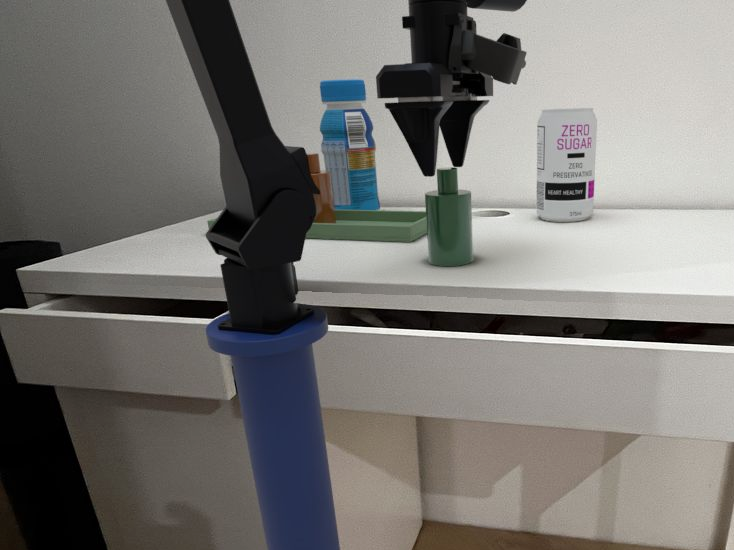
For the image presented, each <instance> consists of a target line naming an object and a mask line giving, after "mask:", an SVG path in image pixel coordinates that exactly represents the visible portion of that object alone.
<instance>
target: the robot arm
mask: <svg viewBox="0 0 734 550" xmlns="http://www.w3.org/2000/svg"><path fill="white" fill-rule="evenodd" d="M407 1H408V15H405V16H401V23H402V29H405V30H408V31H409V37H410V54H411V62H409V63H407V62H405V63H400V64H399V63H398V64H397V63H396V64H384V65H383V66H382V68H381V69H380V70H379V71H378V73H377V74H376V76H375V82H376V96H377V97H376V98H377V99H397V102H384V107H385V109H387V110H388V111H389V112H390V115H391V116H392V118H393V119H394V121H395V123H396V125H397V127H398V128H399V130H400V132H401V134H402V136H403V138H404V139H405V142H406V143H407V145H408V147H409V150H410V152H411V154H412V155H413V157H414V160H415V161H416V163H417V165H418V168H419V170H420V172H421V173H422V175H423V176H424V177H426V178H427V177H434V176H436V171H437V161H438V149H439V136H440V132H441V135H442V138H443V141H444V144H445V149H446V150H447V154H448V156H449V157H448V158H449V160H450V162H451V164H452V167H453V168H462V167H464V164H465V159H466V154H467V150H468V145H469V141H470V137H471V133H472V128H473V124H474V120H475V118H476V116H477V114H479V113H480V111H481V110H482V109H483V108H484V107H486V106H487V105H488V104H489V102H490V99H478V97H479V98H480V97H494V81H497V82H500V83H503V84H505V85H511V84H513V85H514V86H515V85H517V83H518V81H519V78H520V75H521V72H522V69H523V70H524V68H525V67H526V66H527V62H526V56H527V51H526V50H523V49H522V43H521V38H520V37H517V36H514V35H511V34H508V33H505V32H503V33H502V34H501V35H500V36H499V37H498V38H497V39H496V40H494V39H492V38H489V37H486V36H484V35H481V34H478V33H477V22H476V20H475V19H474V17H472V16H469V15H468V8H469V9H475V10H485V11H499V12H511V13H514V12H517V11H519V10H520V9H521V8H523V6H524V5H526V3H527V1H528V0H407ZM165 2H166V5H167V7H168V10H169V13H170V15H171V18H172V21H173V24H174V26H175V29H176V32H177V34H178V37H179V40H180V42H181V44H182V47H183V50H184V52H185V55H186V57H187V60H188V63H189V65H190V67H191V70H192V73H193V77H194V78H195V81H196V84H197V86H198V89H199V91H200V94H201V97H202V100H203V102H204V104H205V108H206V110H207V113H208V115H209V119H210V120H211V123H212V125H213V128H214V131H215V134H216V136H217V139H218V143H219V145H218V146H219V176H220V177H219V178H220V181H221V182H220V183H221V186H222V191H223V195H224V201H225V205H226V206H225V207H224V208H223V210H222V211H221V212H220V214H219V215H218V216H217V217H216V218H217V219H216V221H215V222H214V223H213V225H212V226H211V227H210V229H209V228H208V229H207V231H206V232H205V238H206V240H207V241H208V243H209V245H210V246H211V248H212V250H213V252H214V253H215V254H216V255H218V256H222V257H224V258H225V259H224V260H223V263H221V264H220V265H219V267H220V271H221V276H222V283H223V287H224V292H225V298H226V303H227V309H228V313H229V314H230V318H229V319H227V320H225V321H223V322H221V323H219V324H218V325H217V326H218V330H224V331H235V332H246V333H256V334H267V335H278V334H281V333H282V332H284V331H286V330H287V329H289V328H291V327H292V326H294V325H296V324H297V323H299V322H301V321H302V320H304V319H306V318H307V317H309V316H311V315H312V314H314V309H313V308H305V307H299V305H300V304H301V303H300V302H296V301H297V295H298V293H299V286H298V279H297V271H296V266H295V265H294V263H295V262H300V261H301V260H302V256H303V253H304V246H305V241H306V238H305V237H306V233H307V232H308V231H309V229H310V228H311V226H312V224H313V221H314V219H315V218H316V217H317V205H316V199H315V197H314V194H318V195H319V194H320V193H321V191H320V190H319V189H318V187H317V186H316V185H315V183H314V181H313V179H312V177H311V173H310V167H309V161H308V156H307V154H306V153H307V151H306V149H305V148H304V147H303V146H290V145H285V144H284V143H283V141H282V139H280V137H279V136H278V134H277V133H276V132H275V129H274V128H273V126H272V123H271V120H270V117H269V115H268V111H267V108H266V105H265V102H264V99H263V96H262V93H261V91H260V88H259V85H258V81H257V79H256V76H255V73H254V70H253V66H252V63H251V61H250V58H249V55H248V52H247V49H246V46H245V43H244V41H243V37H242V34H241V31H240V28H239V26H238V22H237V19H236V17H235V14H234V9H233V8H232V5H231V2H230V0H165Z"/></svg>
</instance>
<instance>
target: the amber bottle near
mask: <svg viewBox="0 0 734 550" xmlns="http://www.w3.org/2000/svg"><path fill="white" fill-rule="evenodd" d="M306 154H307V156H308V161H309V167H310V173H311V177H312V179H313V181H314V183H315V185H316V186H317V187H318V189H319V190H320V191H321V193H320V194H319V195H318V194H314V197H315V199H316V205H317V217H316V218H315V219H314V221H313V223H334V224H337V223H336V214H335V205H334V196H333V187H332V178H331V172H330V171H325V170H321V164H320V155H319V153H317V152H308V153H307V152H306Z"/></svg>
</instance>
